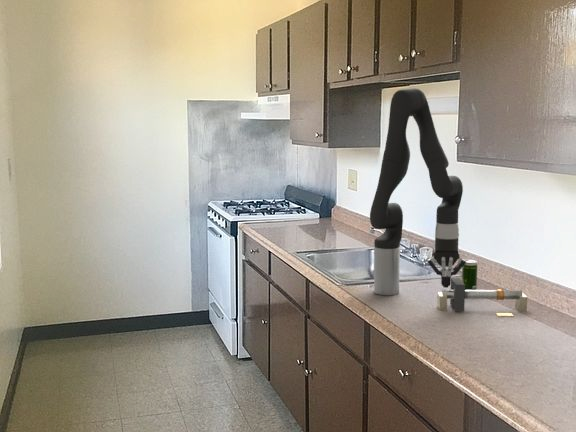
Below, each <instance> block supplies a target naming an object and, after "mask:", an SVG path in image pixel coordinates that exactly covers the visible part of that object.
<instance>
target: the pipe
mask: <svg viewBox="0 0 576 432" xmlns="http://www.w3.org/2000/svg"><path fill="white" fill-rule="evenodd" d="M450 299H454V290H451V289H441V291H438V292H437V301H436V304H437V305H436V306H437V309H438V310H439V311H440V312H441V311H442V312H443V311H444V312H446V311H448V300H450ZM465 300H497V301H504V300H514V301H515V302H514V308H515V309H516V310H517V311H518V312H519V313H523V312H525V313H526V312H527V310H528V296H527V295H526V294H525V293H524V292H523V291H522V290H521V289H520V290H518V289H517V290H516V289H513V290H509V289H508V290H507V289H505V290H504V289H500V288H499V289H496V290H495V289H477V290H465ZM495 315H496V316H497V317H499V318H500V317H501V318H514V317H515V316H514V314H513V313H512V312H511V313H510V312H505V313H504V312H495Z"/></svg>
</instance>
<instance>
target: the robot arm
mask: <svg viewBox="0 0 576 432" xmlns="http://www.w3.org/2000/svg"><path fill="white" fill-rule="evenodd" d="M410 117H413V120H414V121H415V123H416V125H417V128H418V133H419V151H420V154H421V157H422V159H423V161H424V164H425V165H426V167H427V170H428V175H429V179H430V180H429V181H430V185H431V188H432V191H433V193H434V194H435V195H436V196H437V197H438V198H441V199H442V200H441V203H440V204H439V205H438V206H437V208H436V217H435V218H436V223H435V231H434V233H435V235H434V237H435V238H434V252H433V255H432V257H430V258H428V259H427V260H426V262H427V263H428V265H429V266H430V268H432V270H433V271H434V272H435V273H436V275H437V276H441V279H440V280H441V281H440V284H441V286H442V287H443V288H446V289H448V288H449V287H451V278H452V276H456V275H457V274H458V272H459V271H461V270H462V267H463V265H464V264H465V263H466V261H465V260H466V259H464V258H462V257H461V256H460V253H459V236H460V234H459V231H460V230H459V208H460V206H461V201H462V197H463V192H464V190H463V189H464V187H463V182H462V180H461V179H460V178H459V177H458V176H457V175H448V174H449V173H448V171H447V168H448V167H449V160H448V157H447V156H446V153H445V151H444V149H443V147H442V144H441V142H440V139H439V137H438V134H437V130H436V127H435V125H434V124H435V123H434V120H433V117H432V114H431V110H430V105H429V101H428V100H427V96H426V95H425V93H424V91H422V90H421V89H420V88H406V89H404V88H403V89H398V90H397V91H395V92H394V93H393V95H392V97H391V101H390V106H389V118H388V127H387V129H388V130H387V135H386V140H385V147H384V151H383V156H382V161H381V165H380V173H379V178H378V183H377V186H376V191H375V194H374V197H373V200H372V204H371V208H370V212H369V221H370V225H371V226H372V228H373V229H375V230H384V231H383V233H382V234H380V236H377V237H376V238H375V239H374V245H373V246H374V249H373V250H374V255H373V256H374V257H373V258H374V259H373V260H374V261H373V264H374V265H373V267H374V268H373V269H374V271H373V272H374V273H373V274H374V277H373V281H374V283H373V293H374V294H376V295H381V296H393V295H394V296H396V295H398V294H400V267H401V266H400V257H401V252H400V251H401V249H400V248H401V241H402V239H403V225H404V214H403V213H404V211H403V210H402V207H401V205H400V204H398V203H397V202H390V199H391V196H392V194H393V193H394V191H395V190H396V189H397V188H398V186H399V185H400V184H401V182H402V181H404V180H403V179H404V178H405V176H406V175H407V172H408V170H409V164H410V159H411V150H410V146H409V142H408V139H407V128H408V123H409V122H408V121H409V119H410ZM436 262H437V264H438V265H439V267H440V270H439V269H438V267H437V266H436V265H435V264H436ZM456 263H457V264H456ZM455 264H456V265H455ZM454 265H455V266H454ZM453 266H454V268H453Z"/></svg>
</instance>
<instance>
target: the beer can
mask: <svg viewBox="0 0 576 432" xmlns="http://www.w3.org/2000/svg"><path fill="white" fill-rule="evenodd" d="M464 260H465V261H466V263H465V264H464V265H463V267H462V268H461V280H462V282H463V283H464V284H465V290H478V286H477V285H478V261H477V260H474V259H464Z"/></svg>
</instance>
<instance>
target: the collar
mask: <svg viewBox="0 0 576 432" xmlns="http://www.w3.org/2000/svg"><path fill="white" fill-rule="evenodd" d="M450 290H454V299H449V304H450V305H451V307H452V309H453V311H454V312H465V301H466V299H465V284H464V283H463V282H462V278H460V277H451V280H450Z"/></svg>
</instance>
